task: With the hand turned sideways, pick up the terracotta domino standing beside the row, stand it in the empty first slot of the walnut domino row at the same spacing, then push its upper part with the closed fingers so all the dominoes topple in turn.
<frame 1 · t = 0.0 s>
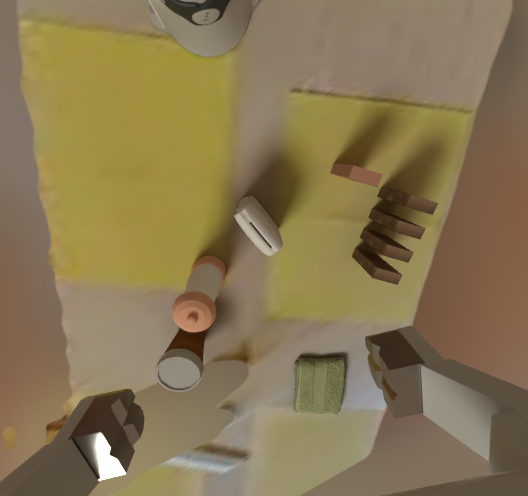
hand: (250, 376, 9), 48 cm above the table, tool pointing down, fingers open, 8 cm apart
terracotta domino: (343, 171, 54), on the table
walnut domino 4: (364, 255, 60), on the table
walnut domino 3: (372, 236, 59), on the table
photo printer: (258, 217, 57), on the table
disposable coffee cup: (191, 335, 65), on the table
pepper shaker: (209, 270, 60), on the table
washcloth: (317, 381, 72), on the table
walnut domino 1: (390, 195, 56), on the table
walnut domino 2: (381, 216, 57), on the table
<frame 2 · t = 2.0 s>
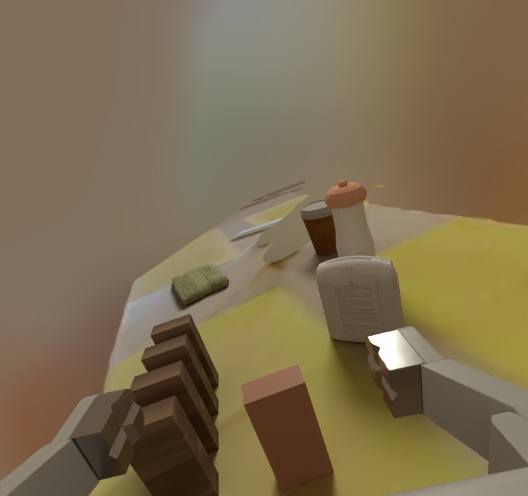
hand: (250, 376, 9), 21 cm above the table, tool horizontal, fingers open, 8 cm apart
terracotta domino: (304, 469, 26), on the table
walnut domino 4: (201, 386, 39), on the table
walnut domino 3: (199, 413, 35), on the table
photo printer: (366, 335, 39), on the table
disposable coffee cup: (328, 250, 70), on the table
pepper shaker: (361, 279, 53), on the table
washcloth: (200, 287, 73), on the table
walnut domino 1: (193, 494, 27), on the table
walnut domino 2: (197, 448, 31), on the table
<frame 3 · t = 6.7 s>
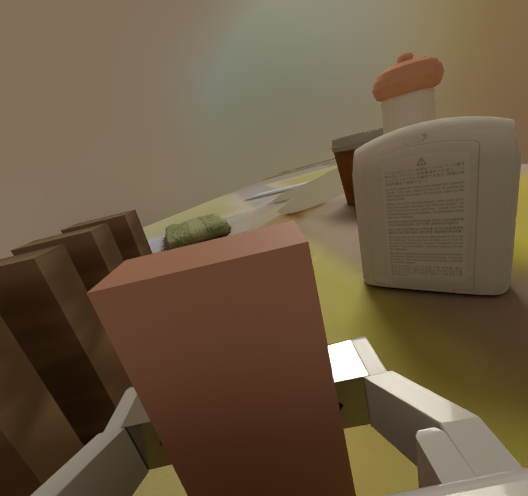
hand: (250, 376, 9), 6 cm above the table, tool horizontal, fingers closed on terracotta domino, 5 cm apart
walnut domino 4: (150, 334, 25), on the table
walnut domino 3: (129, 371, 21), on the table
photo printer: (428, 283, 23), on the table
disposable coffee cup: (364, 201, 53), on the table
pepper shaker: (414, 223, 36), on the table
washcloth: (197, 236, 59), on the table
walnut domino 2: (97, 427, 17), on the table
when the fingers open (7 cm above the table, at t = 12.6 s): terracotta domino stays where it is, on the table.
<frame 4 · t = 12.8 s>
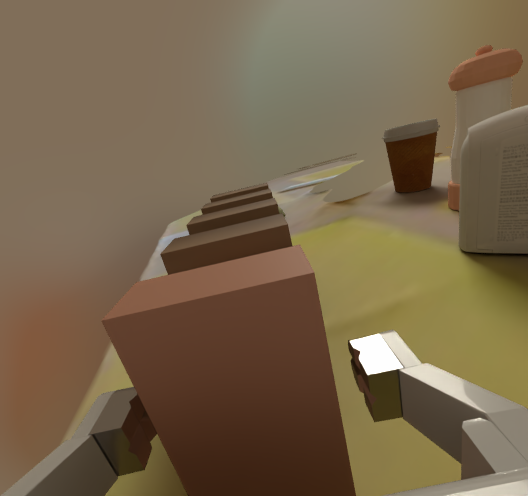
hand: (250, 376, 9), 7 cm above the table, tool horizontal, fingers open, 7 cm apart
walnut domino 4: (267, 298, 28), on the table
walnut domino 3: (269, 324, 24), on the table
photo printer: (526, 250, 26), on the table
disposable coffee cup: (412, 189, 55), on the table
pepper shaker: (479, 205, 39), on the table
walnut domino 1: (280, 421, 15), on the table
walnut domino 2: (274, 362, 19), on the table
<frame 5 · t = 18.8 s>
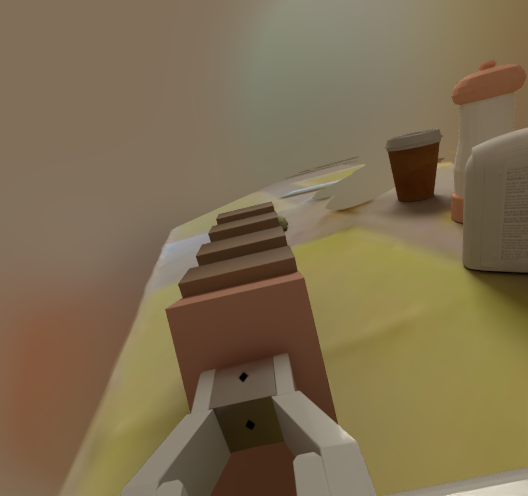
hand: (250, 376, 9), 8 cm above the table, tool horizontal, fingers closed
walnut domino 4: (271, 314, 28), on the table
walnut domino 3: (275, 343, 24), on the table
disposable coffee cup: (415, 198, 56), on the table
pepper shaker: (482, 217, 39), on the table
walnut domino 1: (287, 448, 15), on the table
walnut domino 2: (280, 384, 19), on the table
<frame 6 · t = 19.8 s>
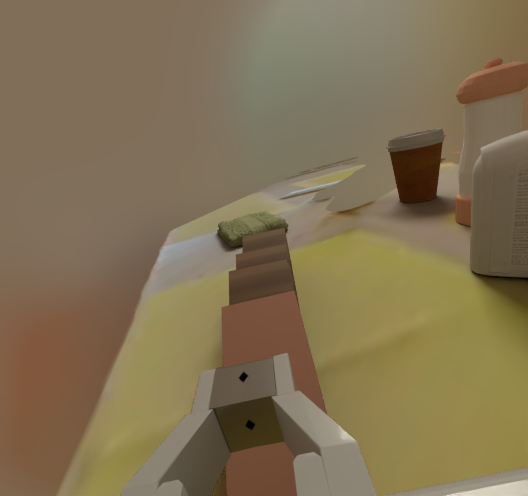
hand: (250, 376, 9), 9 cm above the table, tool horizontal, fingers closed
walnut domino 3: (273, 320, 25), point 1 cm above the table, tilted 64°, touching walnut domino 4
disposable coffee cup: (417, 199, 55), on the table
pepper shaker: (487, 219, 38), on the table
washcloth: (251, 234, 61), on the table
walnut domino 1: (277, 415, 16), point 1 cm above the table, tilted 65°, touching terracotta domino, walnut domino 2
walnut domino 2: (276, 363, 20), point 1 cm above the table, tilted 65°, touching walnut domino 1
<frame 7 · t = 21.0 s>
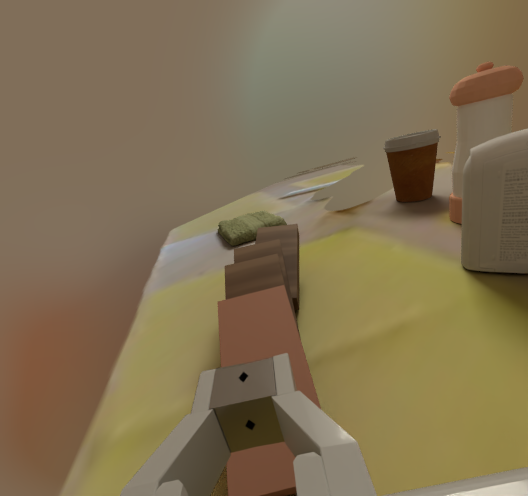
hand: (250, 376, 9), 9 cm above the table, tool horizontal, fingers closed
terracotta domino: (287, 492, 13), point 1 cm above the table, tilted 67°
walnut domino 3: (272, 304, 27), point 1 cm above the table, tilted 67°, touching walnut domino 2, walnut domino 4
disposable coffee cup: (413, 198, 56), on the table
pepper shaker: (480, 218, 39), on the table
washcloth: (250, 233, 62), on the table
walnut domino 1: (269, 390, 18), point 1 cm above the table, tilted 64°, touching walnut domino 2
walnut domino 2: (270, 345, 22), point 1 cm above the table, tilted 65°, touching walnut domino 1, walnut domino 3
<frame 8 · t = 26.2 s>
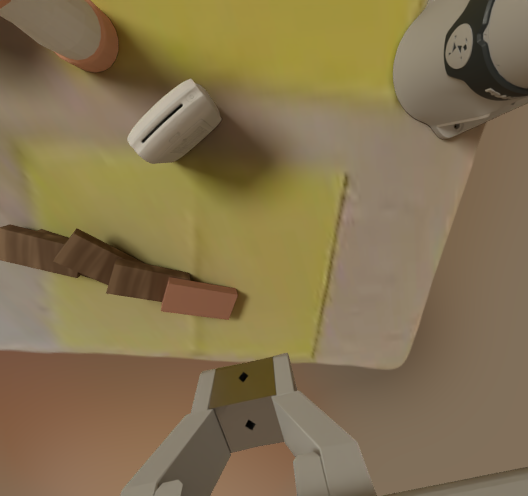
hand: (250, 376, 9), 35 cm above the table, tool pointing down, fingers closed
terracotta domino: (232, 304, 47), point 1 cm above the table, tilted 75°
walnut domino 3: (82, 260, 42), point 2 cm above the table, tilted 90°, touching walnut domino 2, walnut domino 4
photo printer: (190, 130, 39), on the table
pepper shaker: (90, 40, 35), on the table
walnut domino 1: (184, 288, 46), point 1 cm above the table, tilted 71°
walnut domino 2: (137, 279, 45), point 1 cm above the table, tilted 71°, touching walnut domino 3
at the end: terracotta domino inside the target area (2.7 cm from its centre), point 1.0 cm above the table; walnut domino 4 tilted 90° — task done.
